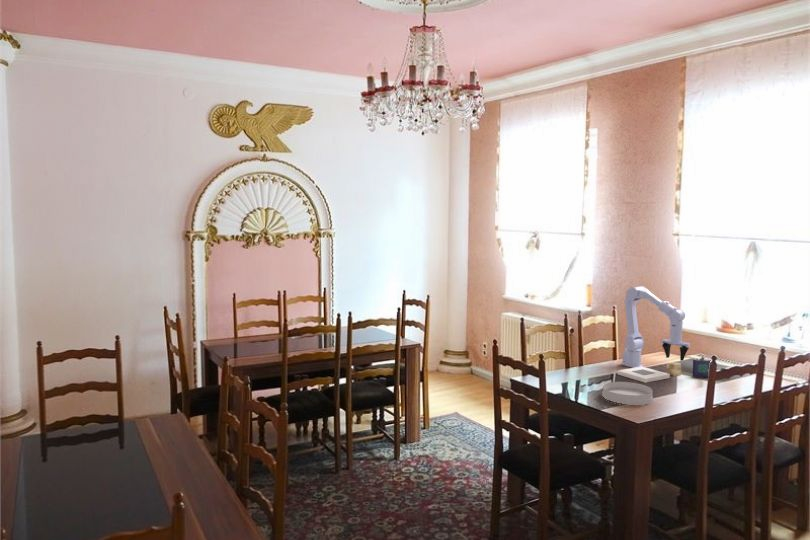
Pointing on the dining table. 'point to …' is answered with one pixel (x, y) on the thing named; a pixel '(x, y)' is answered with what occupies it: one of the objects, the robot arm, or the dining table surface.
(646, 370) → the plinth
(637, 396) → the dish
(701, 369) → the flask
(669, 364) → the block
